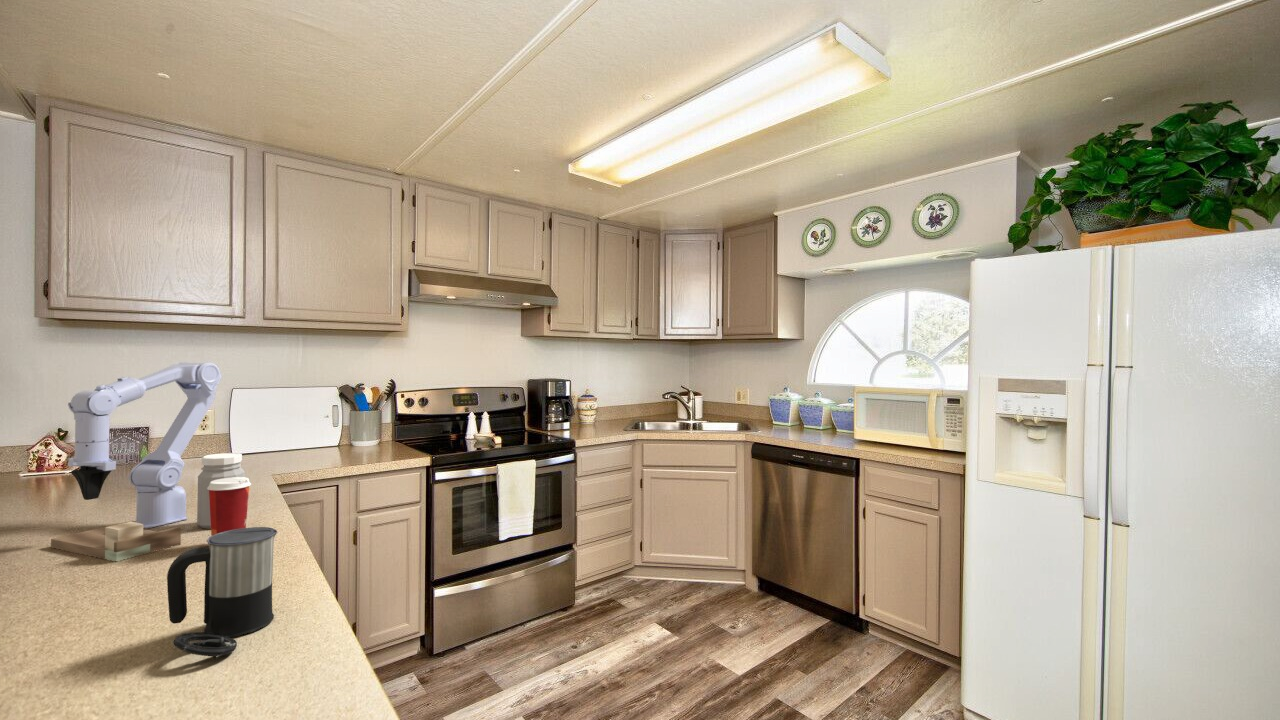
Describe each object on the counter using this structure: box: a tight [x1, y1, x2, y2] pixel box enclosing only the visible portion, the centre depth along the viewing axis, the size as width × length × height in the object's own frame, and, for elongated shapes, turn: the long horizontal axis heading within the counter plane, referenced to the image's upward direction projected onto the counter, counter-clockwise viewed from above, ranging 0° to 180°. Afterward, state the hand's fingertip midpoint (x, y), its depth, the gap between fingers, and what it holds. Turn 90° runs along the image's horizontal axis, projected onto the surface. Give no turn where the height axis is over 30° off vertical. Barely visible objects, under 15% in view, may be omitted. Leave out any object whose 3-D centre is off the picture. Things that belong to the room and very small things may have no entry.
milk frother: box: [166, 526, 278, 660], centre depth 84 cm, size 14×16×15 cm
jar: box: [196, 452, 246, 530], centre depth 142 cm, size 10×10×18 cm
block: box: [104, 521, 144, 550], centre depth 119 cm, size 4×4×4 cm
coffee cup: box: [207, 476, 252, 536], centre depth 126 cm, size 8×8×15 cm
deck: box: [50, 523, 182, 562], centre depth 124 cm, size 12×24×4 cm, turn 71°
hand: (91, 498), depth 128 cm, fingers closed
